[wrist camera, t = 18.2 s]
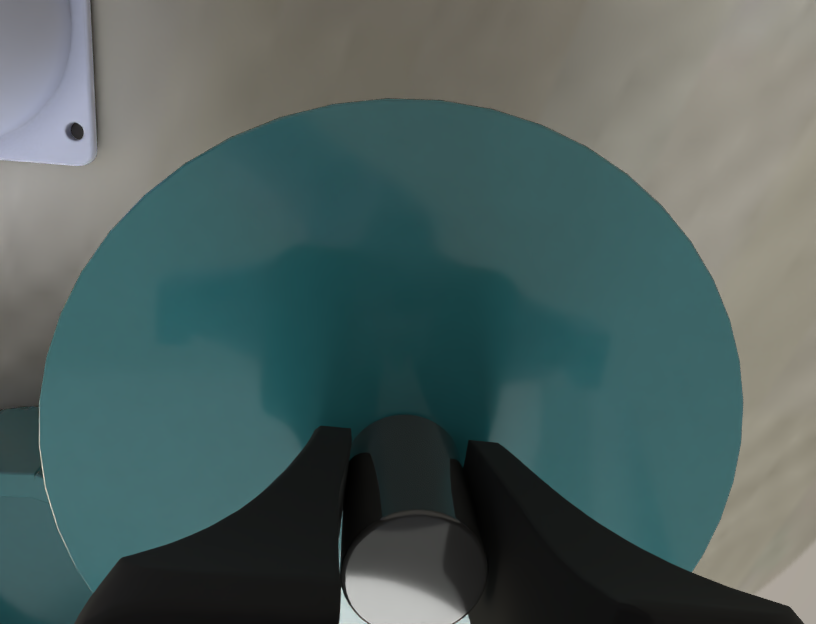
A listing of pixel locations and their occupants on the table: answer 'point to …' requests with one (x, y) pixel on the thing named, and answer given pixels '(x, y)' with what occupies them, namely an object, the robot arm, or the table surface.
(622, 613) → the robot arm
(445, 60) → the table surface
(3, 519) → the pot
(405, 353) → the pot lid
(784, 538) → the table surface
